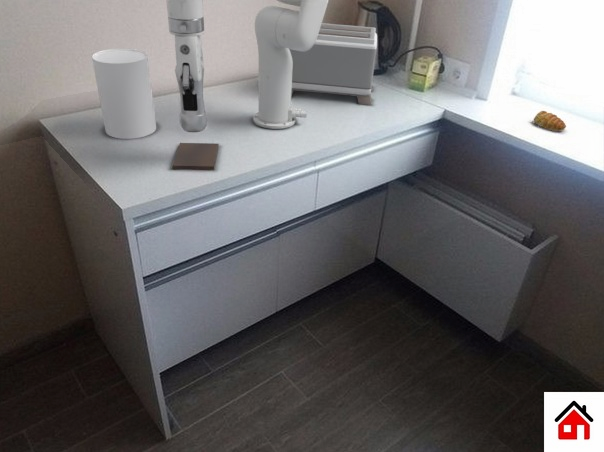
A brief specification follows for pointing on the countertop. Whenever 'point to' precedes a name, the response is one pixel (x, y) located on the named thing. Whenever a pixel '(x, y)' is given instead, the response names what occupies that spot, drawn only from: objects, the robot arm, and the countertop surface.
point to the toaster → (337, 62)
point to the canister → (125, 92)
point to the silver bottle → (193, 119)
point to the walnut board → (196, 156)
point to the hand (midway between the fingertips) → (192, 104)
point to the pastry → (549, 121)
